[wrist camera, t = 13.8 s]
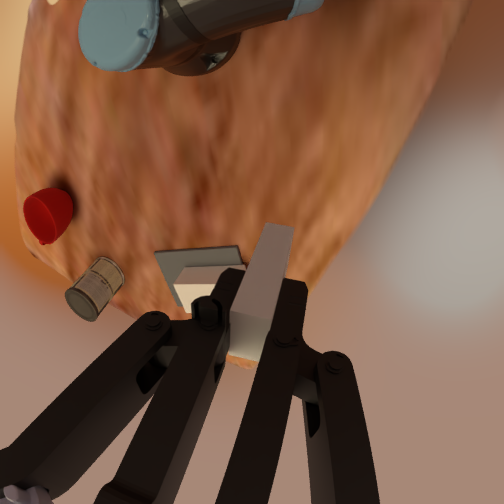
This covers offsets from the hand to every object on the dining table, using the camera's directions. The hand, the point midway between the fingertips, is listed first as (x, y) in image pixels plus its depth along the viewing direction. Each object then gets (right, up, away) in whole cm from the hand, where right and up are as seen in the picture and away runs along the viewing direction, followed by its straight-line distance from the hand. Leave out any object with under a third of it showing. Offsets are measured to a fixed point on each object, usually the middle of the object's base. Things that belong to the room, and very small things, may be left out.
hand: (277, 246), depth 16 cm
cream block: (-3, -8, +44) cm, 45 cm away
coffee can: (-40, -6, +58) cm, 71 cm away
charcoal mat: (-12, -6, +51) cm, 52 cm away
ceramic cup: (-50, +11, +50) cm, 71 cm away
